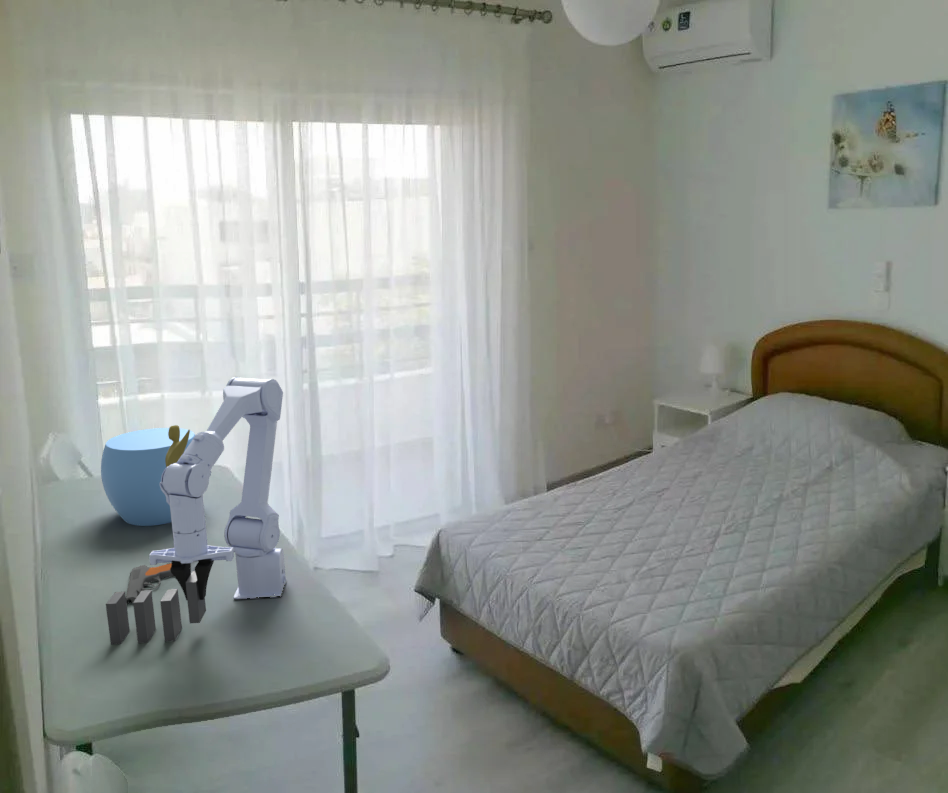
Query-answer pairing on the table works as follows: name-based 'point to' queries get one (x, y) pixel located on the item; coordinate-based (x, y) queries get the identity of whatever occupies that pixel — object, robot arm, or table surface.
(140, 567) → the handgun
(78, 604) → the table surface
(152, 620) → the domino
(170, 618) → the domino
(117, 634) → the domino end
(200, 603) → the domino
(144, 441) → the planter
